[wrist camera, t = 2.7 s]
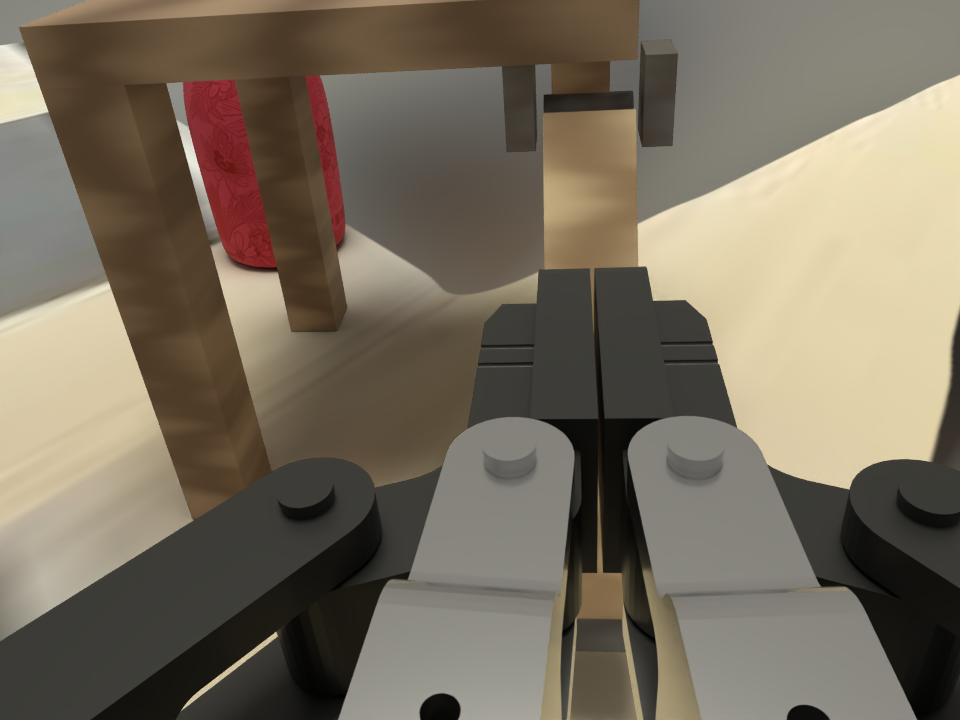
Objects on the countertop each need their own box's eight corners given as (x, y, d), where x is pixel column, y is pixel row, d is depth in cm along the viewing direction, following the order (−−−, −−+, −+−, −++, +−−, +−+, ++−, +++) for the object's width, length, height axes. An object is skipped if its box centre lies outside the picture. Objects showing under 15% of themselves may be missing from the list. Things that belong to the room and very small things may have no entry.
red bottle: (226, 229, 68) (113, -214, 51) (346, 212, 69) (272, -226, 53) (219, 283, 60) (81, -224, 43) (354, 263, 61) (270, -237, 45)
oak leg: (545, 649, 26) (539, 79, 27) (547, 621, 30) (542, 110, 30) (646, 652, 26) (638, 73, 27) (638, 623, 29) (631, 107, 30)
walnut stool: (192, 519, 39) (18, 27, 27) (303, 308, 56) (226, -55, 44) (651, 523, 37) (683, -12, 25) (623, 302, 53) (635, -82, 41)
